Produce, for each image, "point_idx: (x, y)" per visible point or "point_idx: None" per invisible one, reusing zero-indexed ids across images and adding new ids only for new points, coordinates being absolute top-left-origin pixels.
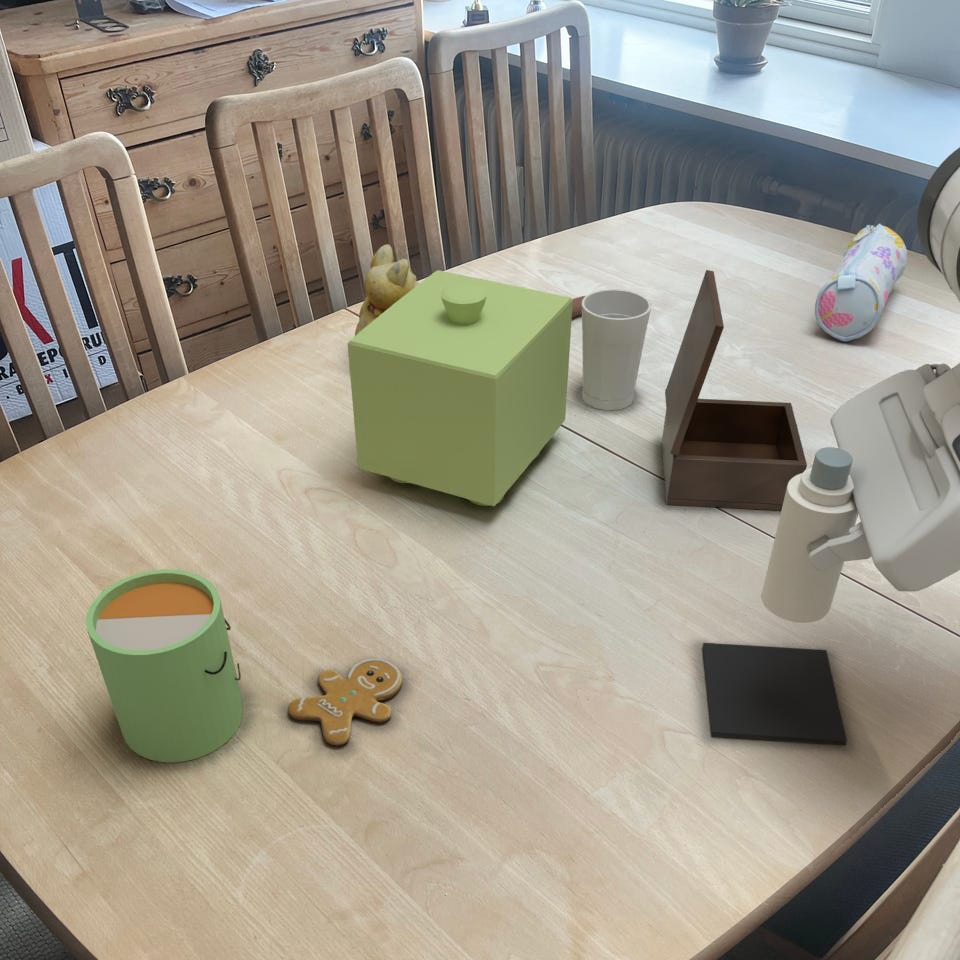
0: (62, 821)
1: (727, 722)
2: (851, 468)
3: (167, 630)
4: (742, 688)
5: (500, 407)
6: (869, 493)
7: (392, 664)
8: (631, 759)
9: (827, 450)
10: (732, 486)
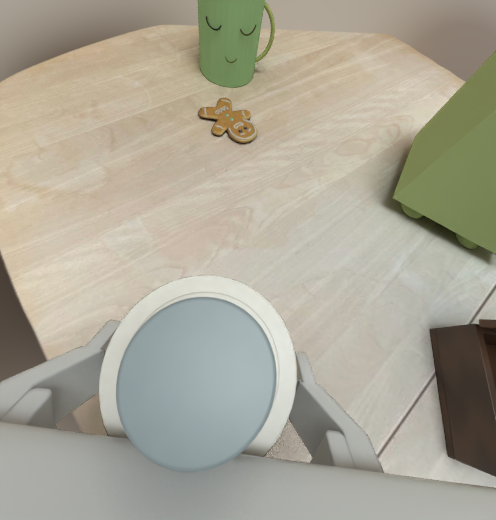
0: (174, 36)
1: None
2: (250, 477)
3: None
4: None
5: (473, 141)
6: (18, 497)
7: (251, 137)
8: (161, 244)
9: (247, 357)
10: (459, 387)
